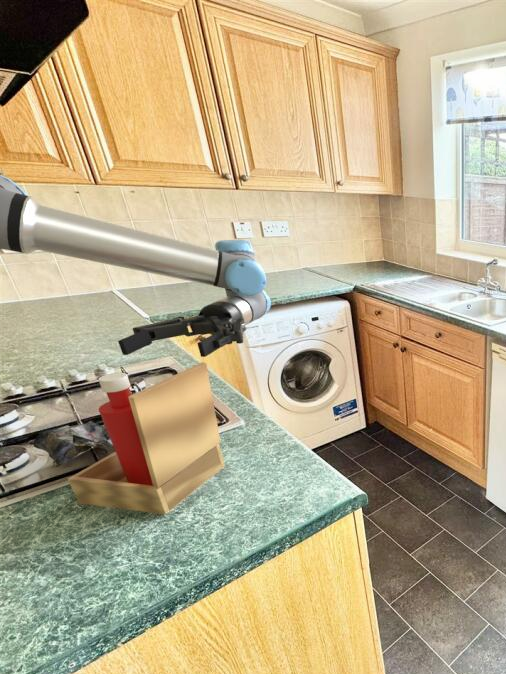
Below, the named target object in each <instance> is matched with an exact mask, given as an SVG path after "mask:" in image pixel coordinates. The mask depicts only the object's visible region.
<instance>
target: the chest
mask: <svg viewBox="0 0 506 674" xmlns="http://www.w3.org/2000/svg"><path fill="white" fill-rule="evenodd" d="M225 467H226V462H225V459H224V455H223V452H222V449H221V445H220V443H219V444H218V445H216V446H215V447H213V448H212V449H211V450H209V451H208V452H207V453H205V454H204V455H203V456H201V457H200V458H198V459H197V460H196V461H194V462H193V463H192V464H190V465H189V466H187V467H186V468H185V469H183V470H182V471H181V472H179V473H178V474H177V475H175V476H174V477H172V478H171V479H170V480H168V481H167V482H166V483H164V484H163V485H161V486H160V487H159V488H156V487H153V486H149V485H141V484H133V483H128V481H127V478H126V476H125V474H124V471H123V469H122V466H121V464H120V461H119V459H118V456H117V454H116V452H114V453H112V454H110V455H106V456H104V457H103V458H101V459H100V460H98V461H96V462H94V463H93V464H91V465H89V466H88V467H86V468H84V469H82V470H81V471H79V472H77V473H75V474H74V475H72V476H70V477H68V478H67V481H68V483H69V485H70V487H71V490H72V491H73V494H74V495H75V498H76V499H77V501H78V503H79V504H81V505H88V506H89V505H90V506H97V507H105V508H112V509H120V510H128V511H135V512H136V511H137V512H142V513H143V512H145V513H152V514H159V515H167V514H168V513H169V512H171V511H172V510H173V509H175V508H176V507H177V506H178V505H179V504H180V503H182V502H183V501H185V499H187V498H188V497H189V496H190V495H192V494H193V493H194V492H195V491H197V490H198V489H199V488H200V487H202V486H203V485H204V484H205V483H206V482H208V481H209V480H210V479H211V478H213V477H214V476H216V474H218V473H219V472H221V470H223V469H224V468H225Z"/></svg>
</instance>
